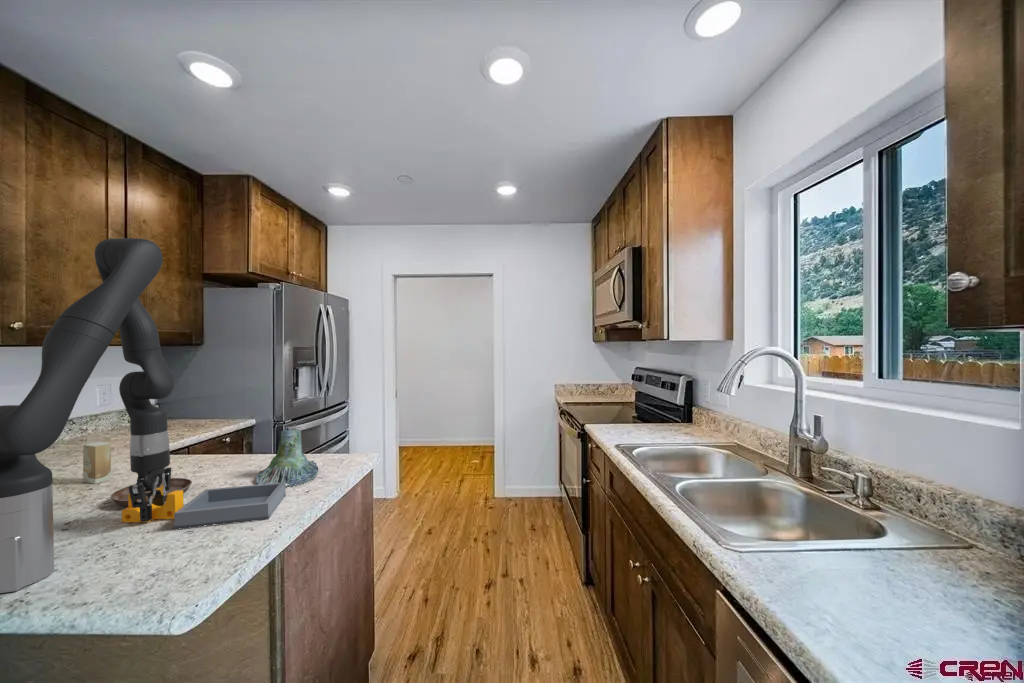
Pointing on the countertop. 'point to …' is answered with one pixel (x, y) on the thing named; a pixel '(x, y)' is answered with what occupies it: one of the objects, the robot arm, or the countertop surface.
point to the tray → (231, 505)
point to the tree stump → (289, 463)
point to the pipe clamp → (155, 508)
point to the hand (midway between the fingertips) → (152, 515)
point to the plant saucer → (175, 485)
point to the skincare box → (96, 462)
